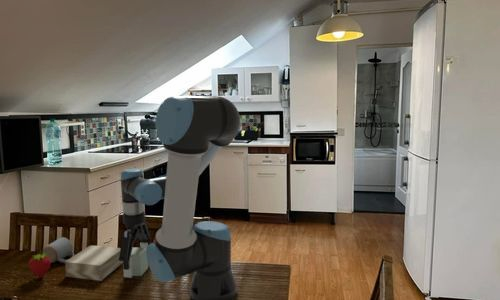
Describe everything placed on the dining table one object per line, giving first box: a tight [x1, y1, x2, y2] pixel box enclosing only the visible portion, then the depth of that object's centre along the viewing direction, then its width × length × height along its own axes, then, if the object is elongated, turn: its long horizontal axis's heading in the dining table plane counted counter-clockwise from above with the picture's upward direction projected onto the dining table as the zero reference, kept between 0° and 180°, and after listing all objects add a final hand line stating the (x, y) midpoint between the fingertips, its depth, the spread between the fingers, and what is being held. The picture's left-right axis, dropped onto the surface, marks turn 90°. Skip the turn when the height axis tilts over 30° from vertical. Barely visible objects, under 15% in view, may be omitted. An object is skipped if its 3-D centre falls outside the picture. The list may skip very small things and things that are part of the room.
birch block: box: [64, 244, 123, 281], centre depth 127 cm, size 14×14×6 cm
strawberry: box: [28, 251, 52, 279], centre depth 120 cm, size 6×8×10 cm
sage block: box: [130, 246, 149, 277], centre depth 125 cm, size 6×6×8 cm
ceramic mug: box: [42, 236, 75, 264], centre depth 134 cm, size 11×8×8 cm
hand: (136, 267), depth 125 cm, fingers open, 13 cm apart
